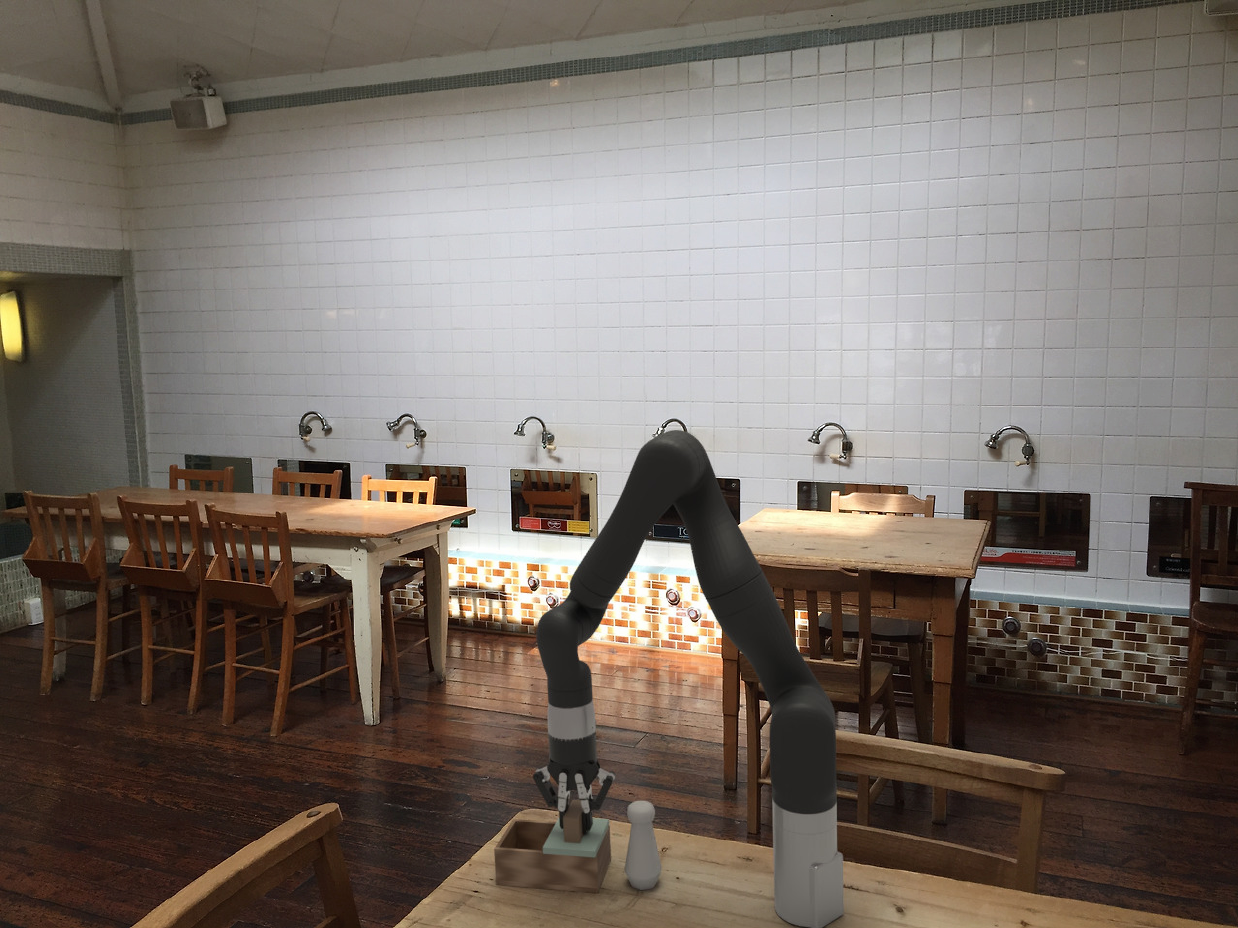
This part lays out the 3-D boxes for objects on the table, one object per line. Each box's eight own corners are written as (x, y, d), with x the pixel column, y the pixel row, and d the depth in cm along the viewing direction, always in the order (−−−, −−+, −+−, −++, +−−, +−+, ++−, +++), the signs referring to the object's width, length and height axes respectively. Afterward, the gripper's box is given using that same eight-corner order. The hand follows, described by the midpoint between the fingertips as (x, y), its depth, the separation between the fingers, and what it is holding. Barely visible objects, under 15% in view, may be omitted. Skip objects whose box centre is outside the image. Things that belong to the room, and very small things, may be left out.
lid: (609, 824, 154) (608, 795, 153) (595, 857, 144) (593, 826, 144) (560, 821, 156) (558, 792, 155) (543, 853, 146) (541, 823, 145)
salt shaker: (647, 897, 144) (644, 817, 142) (617, 885, 147) (614, 807, 145) (669, 879, 148) (666, 801, 147) (639, 868, 152) (636, 792, 150)
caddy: (611, 859, 155) (609, 825, 154) (598, 892, 145) (596, 856, 145) (515, 852, 158) (513, 818, 157) (496, 884, 149) (494, 848, 148)
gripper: (522, 735, 146) (528, 840, 148) (609, 739, 143) (614, 846, 145) (536, 716, 153) (541, 816, 155) (619, 720, 150) (624, 822, 152)
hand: (576, 830), depth 150 cm, fingers closed on lid, 2 cm apart
